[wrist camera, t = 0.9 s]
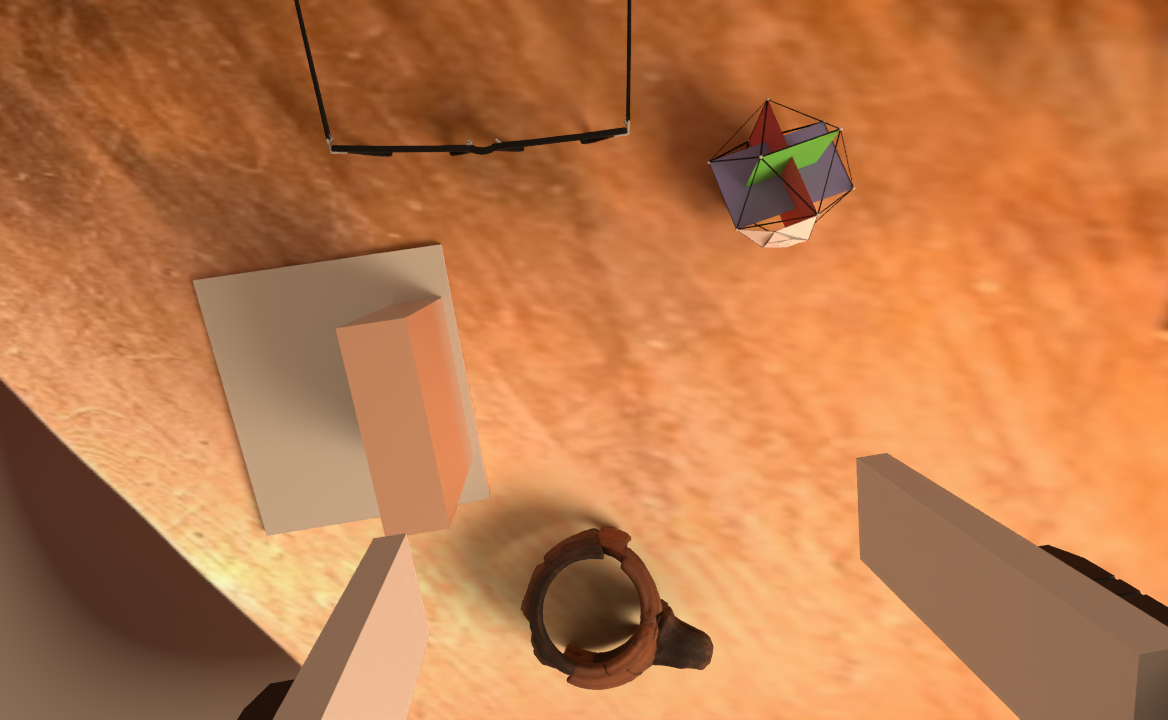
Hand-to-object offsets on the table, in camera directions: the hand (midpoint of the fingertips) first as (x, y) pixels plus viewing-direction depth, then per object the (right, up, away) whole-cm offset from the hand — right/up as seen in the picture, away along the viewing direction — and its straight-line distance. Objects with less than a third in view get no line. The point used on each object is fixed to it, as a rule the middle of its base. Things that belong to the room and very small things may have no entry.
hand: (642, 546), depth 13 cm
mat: (-15, +2, +21) cm, 26 cm away
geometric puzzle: (+9, +15, +20) cm, 27 cm away
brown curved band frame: (0, -11, +25) cm, 27 cm away
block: (-10, +3, +21) cm, 23 cm away
